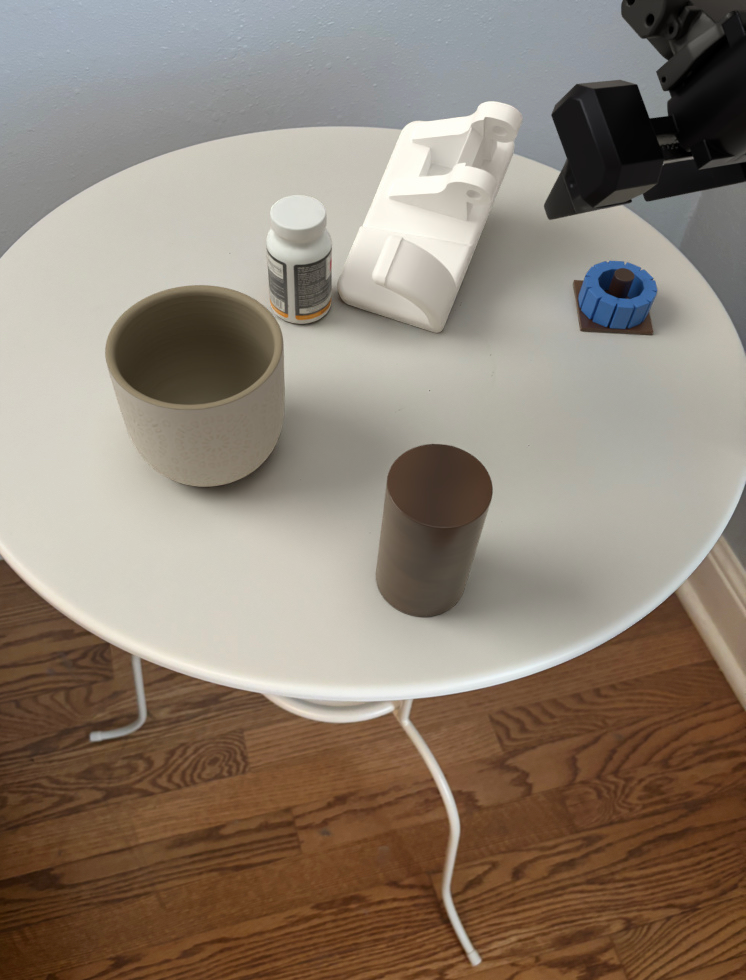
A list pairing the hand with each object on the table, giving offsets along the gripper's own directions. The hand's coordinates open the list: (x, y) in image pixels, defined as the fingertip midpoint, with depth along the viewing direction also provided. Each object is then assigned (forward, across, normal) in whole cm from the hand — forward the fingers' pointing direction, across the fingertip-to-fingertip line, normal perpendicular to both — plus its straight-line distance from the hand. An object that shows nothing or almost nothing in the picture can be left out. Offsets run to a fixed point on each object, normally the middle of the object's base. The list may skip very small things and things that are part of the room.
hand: (597, 203), depth 57 cm
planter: (+23, +24, +5) cm, 34 cm away
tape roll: (+16, -15, +4) cm, 22 cm away
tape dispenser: (+25, -2, -6) cm, 26 cm away
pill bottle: (+27, +10, -6) cm, 29 cm away
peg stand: (+16, -15, +4) cm, 22 cm away
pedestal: (+12, +16, +20) cm, 29 cm away
